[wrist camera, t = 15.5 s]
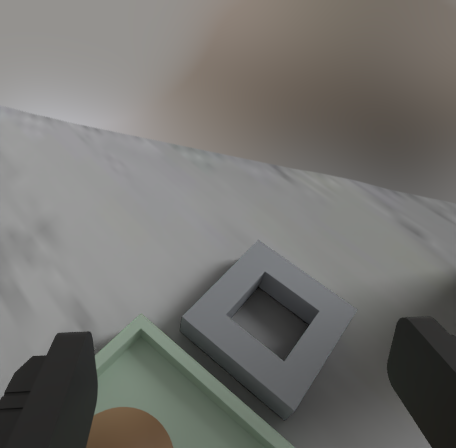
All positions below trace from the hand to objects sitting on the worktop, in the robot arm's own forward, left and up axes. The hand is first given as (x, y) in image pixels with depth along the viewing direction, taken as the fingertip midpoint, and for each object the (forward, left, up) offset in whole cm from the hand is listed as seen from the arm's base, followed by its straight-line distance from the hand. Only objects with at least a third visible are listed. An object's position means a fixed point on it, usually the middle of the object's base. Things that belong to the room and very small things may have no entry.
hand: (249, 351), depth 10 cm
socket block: (+2, -15, -25) cm, 29 cm away
